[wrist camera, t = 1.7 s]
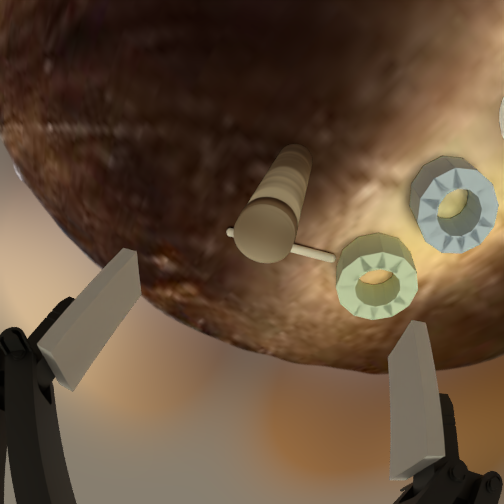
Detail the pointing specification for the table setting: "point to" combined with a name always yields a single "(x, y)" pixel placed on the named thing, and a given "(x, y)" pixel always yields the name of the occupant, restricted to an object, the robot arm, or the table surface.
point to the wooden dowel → (275, 207)
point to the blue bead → (471, 217)
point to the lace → (303, 251)
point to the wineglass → (501, 117)
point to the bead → (368, 259)
